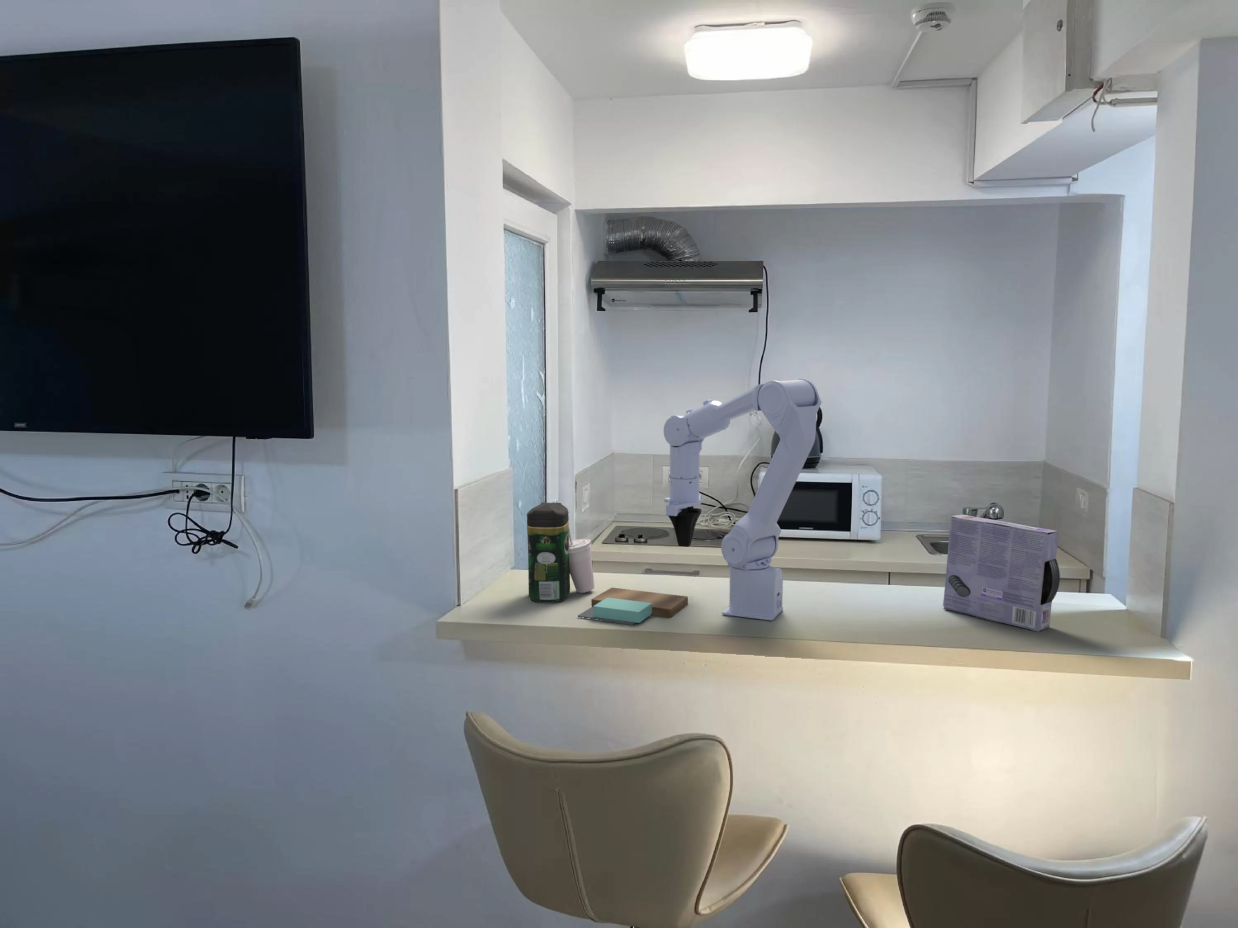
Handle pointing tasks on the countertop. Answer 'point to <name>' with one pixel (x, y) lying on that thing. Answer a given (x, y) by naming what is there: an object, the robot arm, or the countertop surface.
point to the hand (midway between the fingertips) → (684, 545)
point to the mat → (589, 614)
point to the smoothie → (581, 564)
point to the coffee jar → (548, 552)
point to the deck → (647, 600)
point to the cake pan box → (1001, 571)
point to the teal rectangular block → (622, 610)
